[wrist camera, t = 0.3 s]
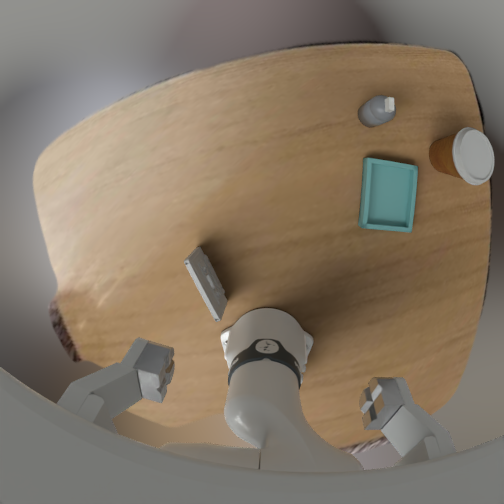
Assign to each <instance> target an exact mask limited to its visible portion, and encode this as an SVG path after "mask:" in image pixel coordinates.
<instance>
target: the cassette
mask: <svg viewBox="0 0 504 504" xmlns="http://www.w3.org/2000/svg"><path fill="white" fill-rule="evenodd" d="M184 263H185V265H186V267H187V269H188V271H189V273H190V275H191V277H192V278H193V280H194V282H195V284H196V286H197V288H198V290H199V292H200V294H201V296H202V297H203V299H204V301H205V303H206V305H207V307H208V308H209V310H210V312H211V314H212V316H213V318H214V319H215V321H216V322H217V321H220V320H221V319H222V316H223V313H224V310H225V307H226V304H227V299H226V297H225V295H224V293H225V291H224V289H223V287H222V285H221V283H220V281H219V279H218V277H217V275H216V273H215V271H214V269H213V267H212V265H211V263H210V261H209V259H208V257H207V255H204V253H203V251H202V249H201V247H197V248H196V249H195V250H194V251H193V252H192V253H191V254H190V255H189V256H188V257H187V258H186V259H185V260H184Z"/></svg>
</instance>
